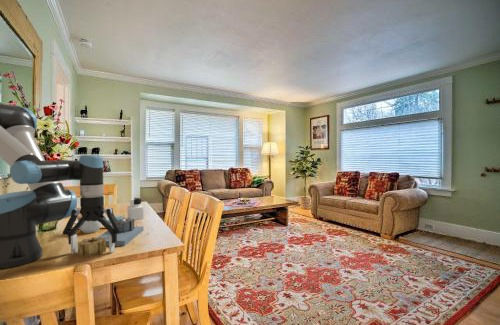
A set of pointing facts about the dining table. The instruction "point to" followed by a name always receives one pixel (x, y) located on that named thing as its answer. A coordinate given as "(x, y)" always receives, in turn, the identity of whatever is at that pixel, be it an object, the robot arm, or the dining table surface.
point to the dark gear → (126, 224)
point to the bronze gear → (91, 247)
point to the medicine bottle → (135, 209)
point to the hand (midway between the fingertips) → (93, 252)
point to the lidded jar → (89, 226)
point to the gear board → (123, 236)
